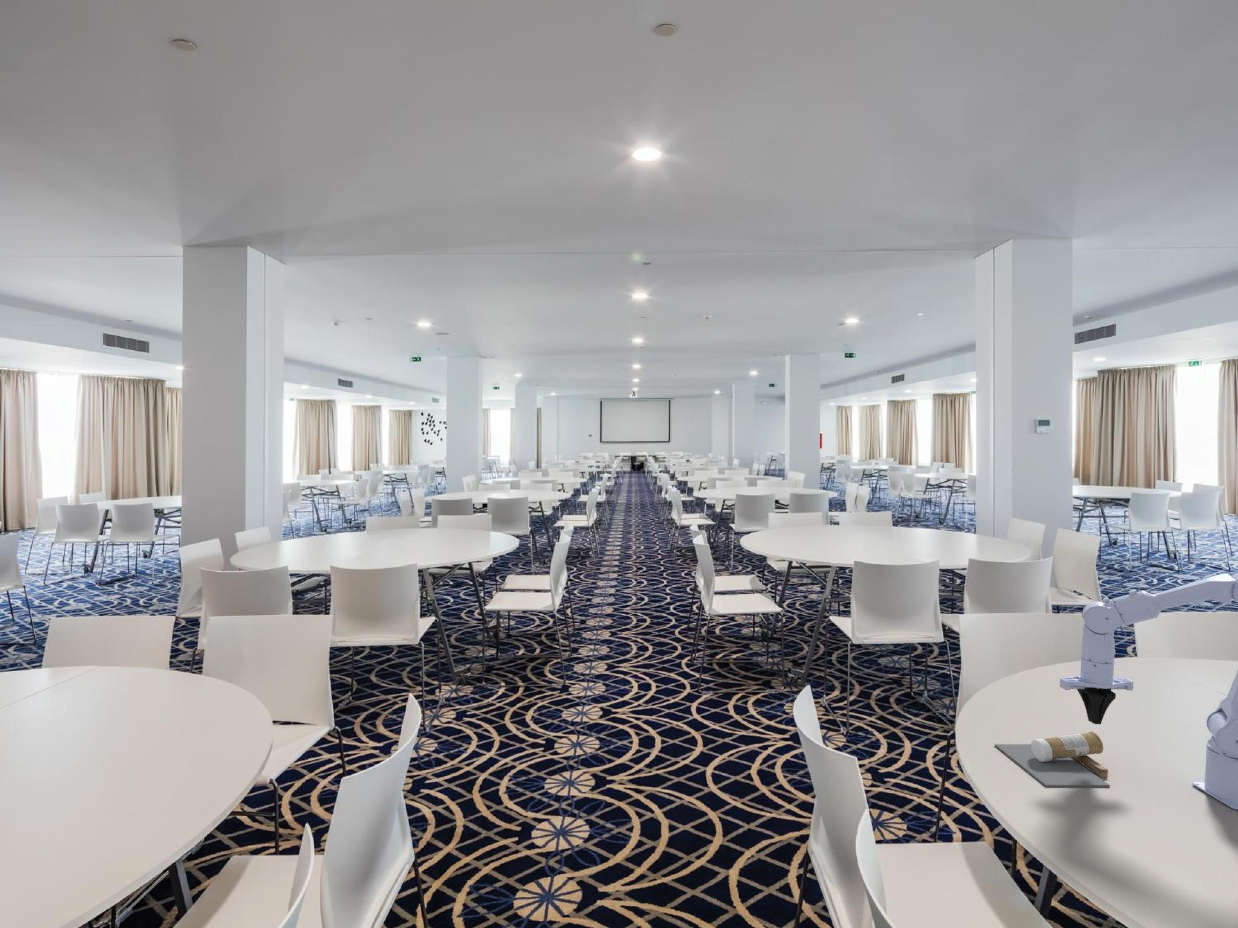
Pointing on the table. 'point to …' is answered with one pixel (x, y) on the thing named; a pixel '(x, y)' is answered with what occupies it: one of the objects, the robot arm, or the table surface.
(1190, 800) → the table surface
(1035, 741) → the sprinkles bottle
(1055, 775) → the rubber mat
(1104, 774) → the walnut rail
